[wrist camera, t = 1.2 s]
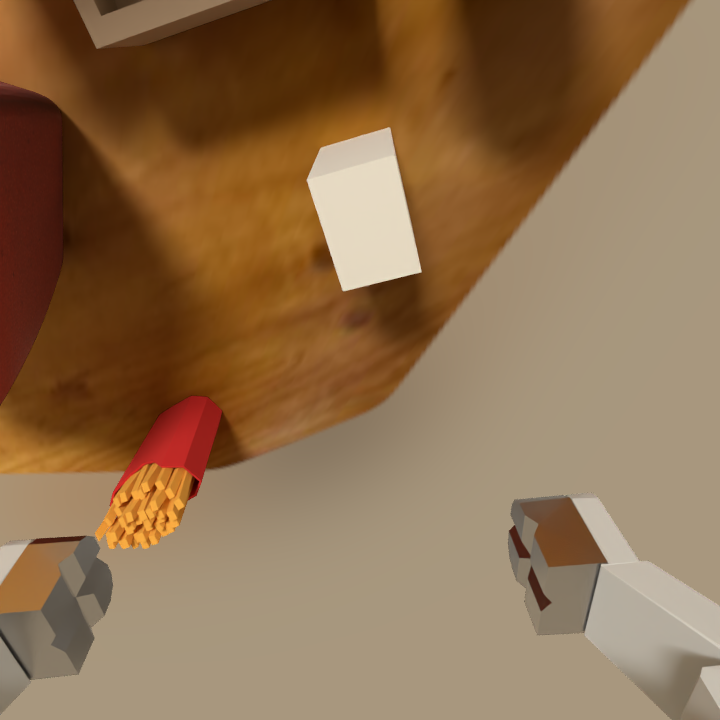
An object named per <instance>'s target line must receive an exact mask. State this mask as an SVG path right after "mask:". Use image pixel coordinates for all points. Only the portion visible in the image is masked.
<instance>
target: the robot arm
mask: <svg viewBox="0 0 720 720" xmlns="http://www.w3.org/2000/svg"><path fill="white" fill-rule="evenodd" d="M511 517H512V519H513V521H514V524H515V525H514V526H513V527H512V528H511V530H509V538H508V547H509V556H510V561H511V564H512V569H513V572H514V575H515V577H516V580H517V581H518V582H519V583H520V584H521V585H523V586H524V587H525V588H526V594H525V604H526V607H527V610H528V612H529V615H530V617H531V620H532V623H533V625H534V628H535V631H536V633H537V635H551V634H569V633H585V634H584V635H585V637H586V638H587V639H589V640H590V641H591V642H592V643H593V644H594V645H595V646H596V647H597V648H598V649H599V650H600V651H601V652H602V653H603V654H604V655H605V656H606V657H607V658H608V659H609V660H610V661H611V662H612V663H614V665H615V666H617V667H618V668H619V669H620V670H621V671H622V672H623V673H624V674H625V675H626V676H627V677H628V678H629V679H630V680H631V681H632V682H633V683H634V684H635V685H636V686H637V687H638V688H639V689H640V690H641V691H643V692H644V693H645V694H646V695H647V696H648V697H649V698H650V699H651V700H652V701H653V702H654V703H655V704H656V705H657V706H658V707H659V708H660V709H661V710H662V711H663V712H664V713H666V715H667V716H668V717H670V718H671V719H672V720H720V606H719V605H718V604H716V603H715V602H713V601H711V600H710V599H708V598H707V597H705V596H704V595H702V594H700V593H699V592H697V591H695V590H694V589H692V588H691V587H689V586H688V585H686V584H685V583H683V582H681V581H680V580H678V579H677V578H675V577H673V576H672V575H670V574H669V573H667V572H665V571H664V570H662V569H661V568H659V567H658V566H656V565H654V564H653V563H651V562H650V561H640V560H639V559H638V557H637V556H636V554H635V553H634V551H633V550H632V548H631V547H630V545H629V544H628V542H627V541H626V539H625V538H624V536H623V535H622V533H621V532H620V530H619V529H618V527H617V526H616V524H615V523H614V521H613V520H612V518H611V517H610V515H609V513H608V512H607V510H606V509H605V508H604V506H603V504H602V503H601V501H600V500H599V498H598V497H597V496H596V495H595V494H593V493H582V494H571V495H566V496H564V495H561V496H549V497H539V498H528V499H519V500H518V499H517V500H514V501H513V504H512V508H511ZM99 550H100V547H99V545H98V544H97V541H96V540H95V538H94V537H92V536H75V537H57V538H41V539H31V540H15V541H9V542H8V543H6V544H5V545H3V546H2V547H1V548H0V715H1V714H2V712H3V711H4V710H5V709H6V708H7V707H8V706H9V705H10V704H11V703H12V702H13V701H14V700H15V699H16V698H17V697H18V696H19V695H20V693H21V692H23V690H24V689H25V688H26V687H27V686H28V685H29V684H30V683H31V681H30V680H34V679H42V678H51V677H60V676H68V675H77V674H79V672H80V670H81V667H82V665H83V663H84V661H85V659H86V656H87V654H88V651H89V649H90V647H91V645H92V643H93V641H94V635H93V632H92V629H91V627H92V626H94V624H96V623H97V622H98V621H99V620H100V619H101V618H102V617H103V616H104V615H105V613H106V611H107V608H108V606H109V603H110V601H111V594H112V588H113V582H112V575H111V571H110V569H109V567H108V565H107V564H106V563H104V562H103V561H101V560H100V559H98V558H96V556H97V554H98V552H99Z"/></svg>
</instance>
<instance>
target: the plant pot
mask: <svg viewBox="0 0 720 720" xmlns="http://www.w3.org/2000/svg"><path fill="white" fill-rule="evenodd" d="M62 263H63V156H62V116H61V113H60V111H59V109H58V107H57V106H56V104H55V103H53V102H52V101H51V100H50V99H48V98H47V97H45V96H42V95H40V94H38V93H35V92H33V91H29V90H26V89H23V88H20V87H16V86H13V85H10V84H7V83H4V82H0V405H1V403H2V402H3V400H4V399H5V397H6V395H7V394H8V392H9V390H10V388H11V387H12V385H13V383H14V381H15V379H16V378H17V376H18V374H19V372H20V370H21V368H22V366H23V364H24V362H25V360H26V358H27V356H28V354H29V352H30V350H31V348H32V346H33V343H34V341H35V339H36V337H37V335H38V332H39V330H40V328H41V325H42V323H43V320H44V318H45V315H46V312H47V310H48V307H49V304H50V301H51V299H52V296H53V293H54V290H55V287H56V284H57V280H58V277H59V274H60V270H61V266H62Z"/></svg>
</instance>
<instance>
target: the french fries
mask: <svg viewBox="0 0 720 720" xmlns="http://www.w3.org/2000/svg"><path fill="white" fill-rule="evenodd" d="M221 414H222V410H221V409H220V408H219V407H218V406H217V405H216V404H215V403H214V402H212V401H211V400H210V399H209V398H208V397H201V396H190V397H188V398H186V399H184V400H182V401H181V402H179V403H177V404H175V405H174V406H172V407H171V408H169V409H167V410H166V411H164V412H163V413H161V414H160V415H159V416H158V418H157V420H156V421H155V423H154V425H153V426H152V428H151V430H150V431H149V433H148V435H147V436H146V438H145V440H144V441H143V443H142V445H141V446H140V448H139V450H138V451H137V453H136V455H135V456H134V458H133V460H132V461H131V463H130V465H129V466H128V468H127V470H126V471H125V473H124V475H123V476H122V478H121V480H120V481H119V483H118V485H117V486H116V488H115V490H114V491H113V494H112V498H111V503H110V509H109V511H108V513H107V515H106V516H105V518H104V521H103V522H102V524H101V525H100V527H99V528H98V530H97V531H96V532H95V535H96V537H97V539H98V540H99V541H100V539H101V538H102V536H103V535H104V534H105V532H106V531H107V529H108V527H110V528H109V529H108V531H107V532H106V536H107V542H108V546H109V548H110V549H113V548H115V547H116V545H117V544H118V542H119V544H120V545H121V547H122V549H125V548H127V547H130V544H131V545H132V547H133V549H135V548H137V547H138V546H139V543H141V545H142V547H143V549H145V548H149V547H150V544H152V545H154V544H158V543H159V540H160V537H161V535H162V536H166V535H168V534H169V533H171V532H174V531H175V528H176V527H177V526H179V525H180V522H181V519H182V516H183V513H184V510H185V507H186V504H187V501H188V500H190V499H191V498H193V497H195V496H197V493H198V490H199V487H200V485H201V482H202V479H203V475H204V472H205V468H206V465H207V461H208V458H209V455H210V452H211V448H212V445H213V442H214V439H215V436H216V433H217V430H218V426H219V423H220V419H221ZM116 516H117V518H116ZM115 518H116V519H115Z"/></svg>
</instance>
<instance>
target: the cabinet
mask: <svg viewBox="0 0 720 720" xmlns="http://www.w3.org/2000/svg"><path fill="white" fill-rule="evenodd" d="M307 182H308V185H309V188H310V191H311V194H312V197H313V201H314V204H315V207H316V210H317V213H318V216H319V219H320V222H321V225H322V228H323V231H324V234H325V237H326V241H327V244H328V247H329V250H330V253H331V256H332V259H333V262H334V265H335V268H336V271H337V274H338V277H339V281H340V284H341V287H342V290H343V291H347V290H351V289H355V288H359V287H363V286H367V285H371V284H375V283H379V282H384V281H388V280H392V279H396V278H400V277H404V276H408V275H412V274H416V273H420V272H421V267H420V262H419V257H418V252H417V247H416V243H415V238H414V233H413V228H412V223H411V219H410V214H409V210H408V205H407V201H406V196H405V192H404V188H403V183H402V179H401V174H400V170H399V165H398V161H397V156H396V152H395V147H394V143H393V138H392V134H391V129H390V127H389V128H386V129H382V130H379V131H376V132H372V133H369V134H365V135H362V136H359V137H355V138H352V139H349V140H345V141H342V142H339V143H335V144H332V145H328V146H325V147H322V148H320V151H319V153H318V155H317V157H316V160H315V162H314V164H313V167H312V169H311V171H310V174H309V176H308V178H307Z"/></svg>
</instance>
